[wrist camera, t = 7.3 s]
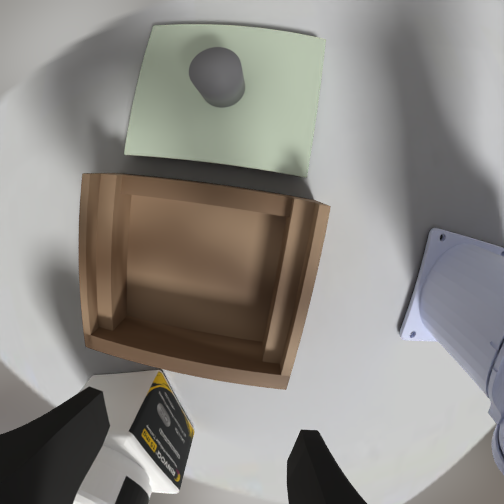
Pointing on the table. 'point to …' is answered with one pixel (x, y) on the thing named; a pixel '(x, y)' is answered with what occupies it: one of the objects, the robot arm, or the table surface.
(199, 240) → the walnut box
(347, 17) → the table surface
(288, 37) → the cover plate
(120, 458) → the medicine bottle
